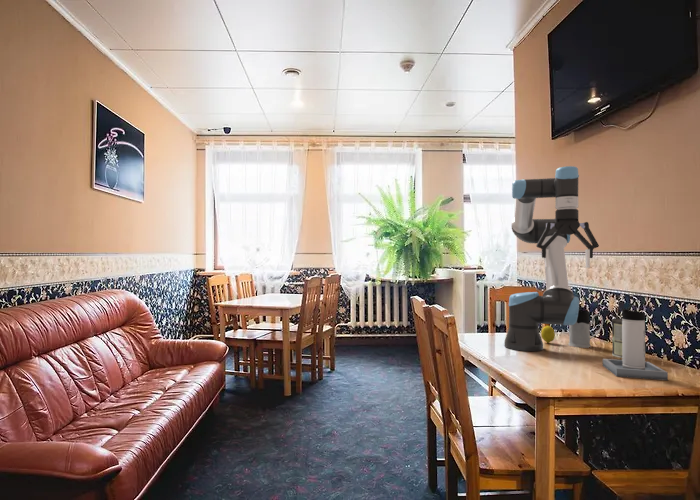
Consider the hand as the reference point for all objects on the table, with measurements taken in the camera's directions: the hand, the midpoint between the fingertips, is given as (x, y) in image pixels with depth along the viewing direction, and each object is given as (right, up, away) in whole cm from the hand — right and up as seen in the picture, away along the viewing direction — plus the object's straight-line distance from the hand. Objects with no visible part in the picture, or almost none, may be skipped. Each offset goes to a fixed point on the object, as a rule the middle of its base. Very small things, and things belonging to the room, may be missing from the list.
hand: (566, 267), depth 152 cm
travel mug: (+15, -34, -14) cm, 39 cm away
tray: (+15, -34, -14) cm, 40 cm away
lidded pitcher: (+24, -36, +29) cm, 52 cm away
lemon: (+9, -36, +34) cm, 50 cm away
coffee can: (+28, -35, +9) cm, 46 cm away
